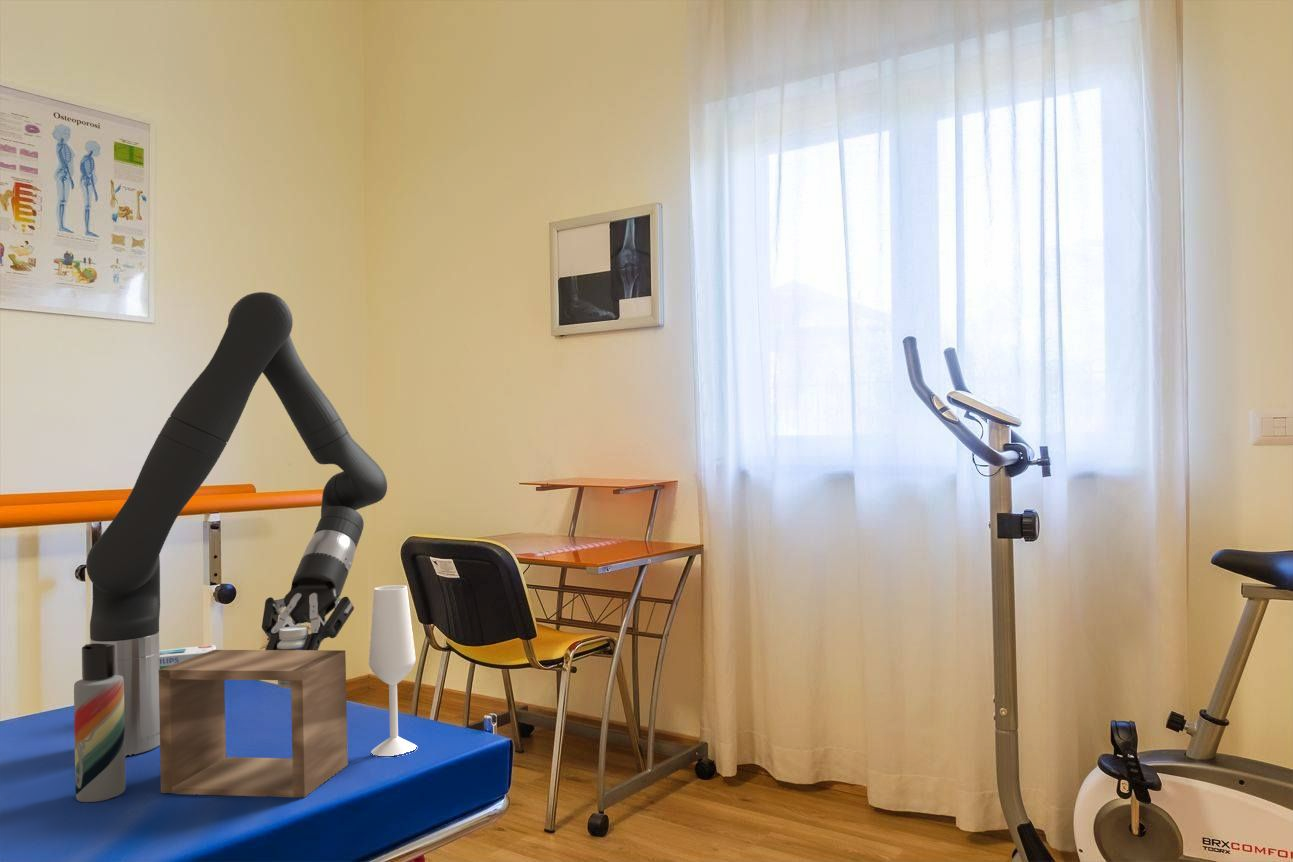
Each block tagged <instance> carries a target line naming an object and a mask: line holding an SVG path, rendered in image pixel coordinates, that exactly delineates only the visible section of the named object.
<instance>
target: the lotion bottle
mask: <svg viewBox="0 0 1293 862" xmlns="http://www.w3.org/2000/svg"><path fill="white" fill-rule="evenodd" d="M115 674H116V664H115V645H110V644H90V643H88V644H84V645H83V646H82V647H81V676H82V677H81V679H79V680H77V681H75V683H73V684H74V685H73V707H74V708H73V714H74V716H73V719H74V720H73V721H74V724H73V725H74V729H73V730H74V775H75V776H74V779H75V780H74V781H75V782H74V784H75V797H76V801H78V802H80V803H81V802H82V803H94V802H95V803H96V802H103V801H106V800H110V798H111V799H113V797H114V798H116V797H118V796H120V795H121V794H123V793H124V792H125V791H126V756H125V715H124V679H123V677H122V676H120V675H115Z"/></svg>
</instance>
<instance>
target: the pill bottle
mask: <svg viewBox="0 0 1293 862" xmlns="http://www.w3.org/2000/svg"><path fill="white" fill-rule="evenodd" d="M308 634H309V626H307V625H299V626H290V627H285V628H281V629H280V630H279V637H280V638H279V639H281V641H280V642H279V643H278V644H277V650H302V649H303V646H304V643H305V641H306V638H307V636H308ZM277 685H278V687H279V688H281V689H291V680H277Z"/></svg>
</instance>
